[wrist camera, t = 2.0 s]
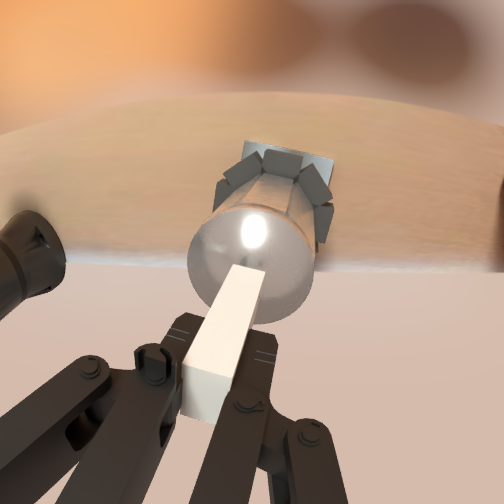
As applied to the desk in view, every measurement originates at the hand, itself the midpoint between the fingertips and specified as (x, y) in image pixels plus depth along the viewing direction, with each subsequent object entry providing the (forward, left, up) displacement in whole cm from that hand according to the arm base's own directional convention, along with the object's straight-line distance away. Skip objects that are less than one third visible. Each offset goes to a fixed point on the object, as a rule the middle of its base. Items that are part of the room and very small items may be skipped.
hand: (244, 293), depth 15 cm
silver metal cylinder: (0, 0, -12) cm, 12 cm away
